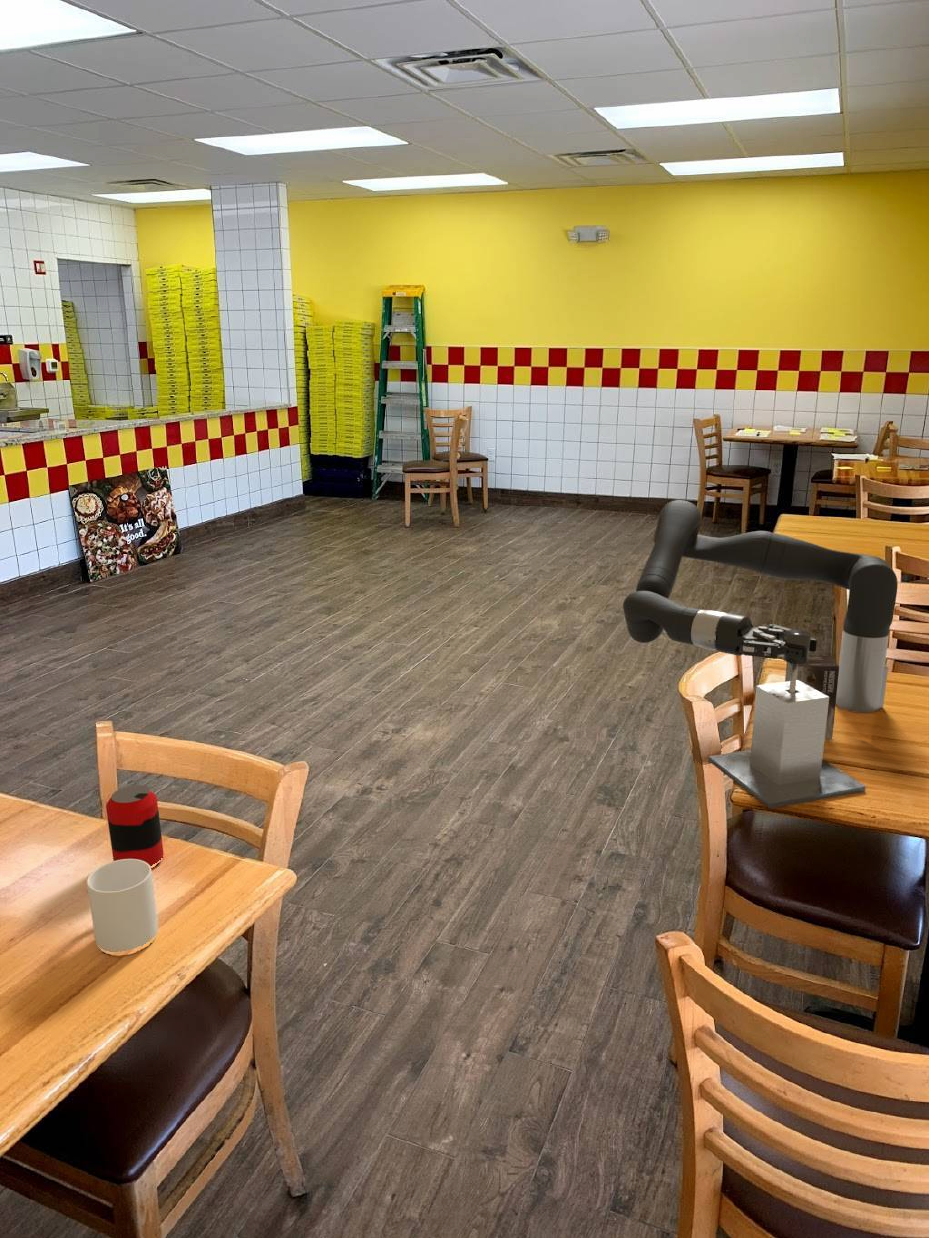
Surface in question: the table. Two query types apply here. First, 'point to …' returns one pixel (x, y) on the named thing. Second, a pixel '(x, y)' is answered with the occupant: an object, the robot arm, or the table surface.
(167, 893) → the table surface
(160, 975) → the table surface
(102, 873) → the cup
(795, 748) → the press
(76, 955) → the table surface
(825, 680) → the coffee box
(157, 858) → the soda can
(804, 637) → the plunger
